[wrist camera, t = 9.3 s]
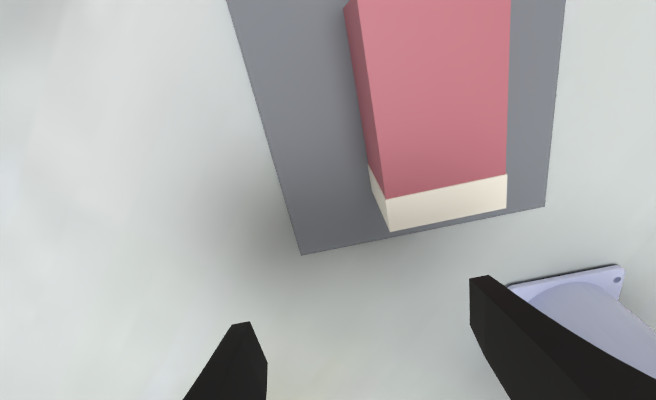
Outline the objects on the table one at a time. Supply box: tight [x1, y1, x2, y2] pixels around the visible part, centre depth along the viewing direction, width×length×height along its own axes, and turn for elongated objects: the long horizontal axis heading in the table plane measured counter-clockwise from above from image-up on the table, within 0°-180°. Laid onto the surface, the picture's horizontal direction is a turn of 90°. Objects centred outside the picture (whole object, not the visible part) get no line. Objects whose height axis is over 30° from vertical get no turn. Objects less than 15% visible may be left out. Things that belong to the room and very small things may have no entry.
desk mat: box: [226, 0, 566, 255], centre depth 16 cm, size 16×15×1 cm
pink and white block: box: [343, 0, 511, 232], centre depth 14 cm, size 5×9×5 cm, turn 12°
